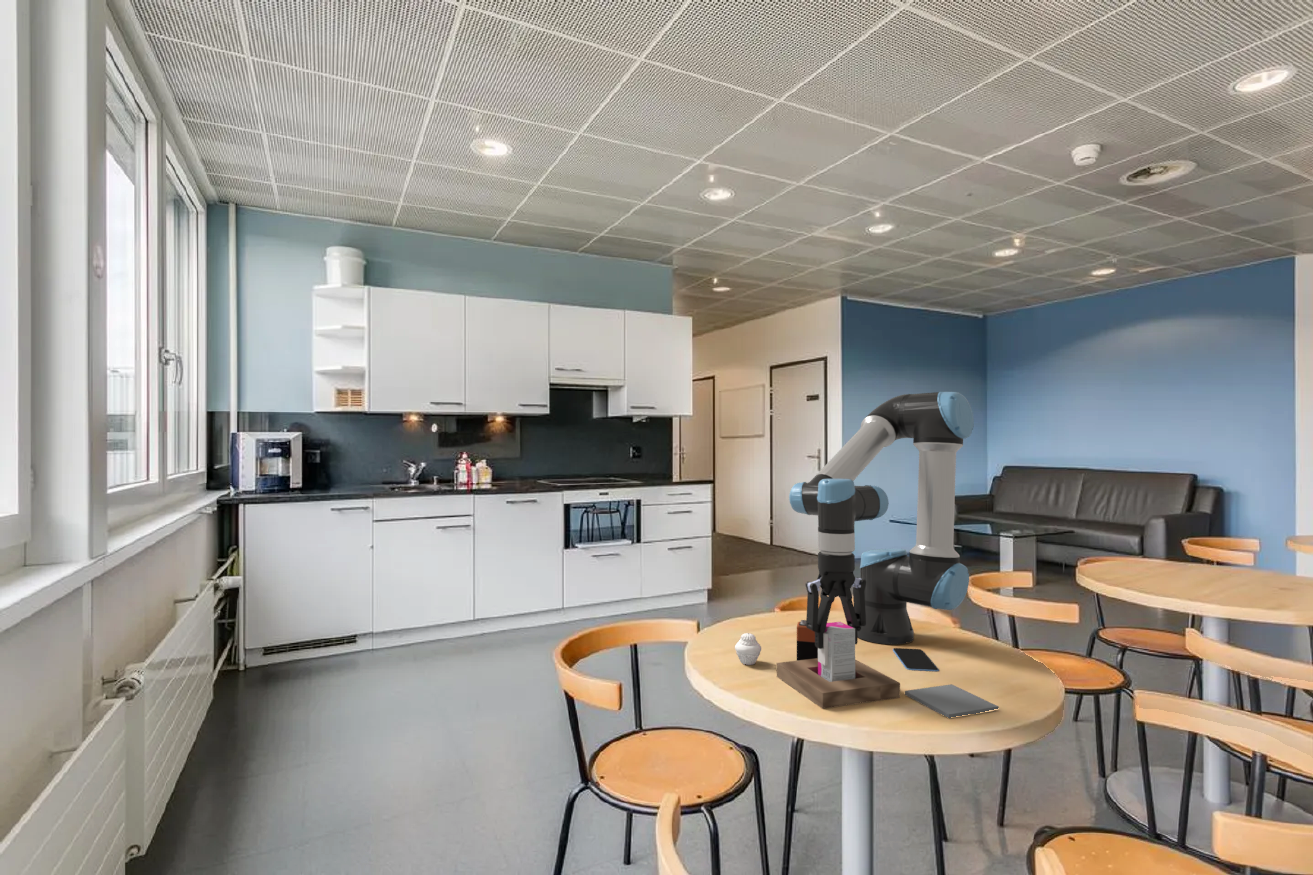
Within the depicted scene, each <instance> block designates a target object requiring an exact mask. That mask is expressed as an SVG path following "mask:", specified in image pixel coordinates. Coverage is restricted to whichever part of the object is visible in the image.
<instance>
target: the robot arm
mask: <svg viewBox="0 0 1313 875" xmlns="http://www.w3.org/2000/svg"><path fill="white" fill-rule="evenodd" d="M974 422H975V419H974V412H973V409H972V406H971V404H970V403H969V401H968V398H966V397H965V395H964V394H962V393H960V392H958V391H934V392H924V393H923V392H922V393H907V394H900V395H897V396H895V397H892V398H890V399H888V400H886V401H884V402H883V403H881V404H880V405H878V406H876V407H875V408H874V409H873V410H872V411H871V412H869V414H868V415H866V416H865V417H864V418H863V419H862V421H861V423H860V428H859V429H858V430H857V431H856V433H855V434H854V435H852V436H851V438H850V439H849V440H848V441H847V442H846V443H845V444H844V445H843V446H842V447H841V448H840V450H838V451H837V453H835V455H834V456H832V458H831V459H830V460H829V461H828V462H827V463H826V464H825V465H824V466H823V467H822V469H821V470H819V471H818V473H816V475H815V476H814V477H813V478H812V479H811V480H810V481H808V482H807V481H802V482H797V483H795V484H794V485H793V486H792V487H791V489H790V491H789V496H788V498H789V499H788V500H789V504H790V506H791V508H792V510H793V511H794V512H796V513H797V514H798V513H799V514H804V515H807V516H817V519H818V520H817V523H818V524H817V525H818V526H817V549H818V550H819V551H818V553H817V568H818V576H817V578H816V580H813V581H806V582H805V587H806V588H805V589H806V592H807V598H806V617H805V618H806V619H805V620H806V627H807V628H808V629H810V630H812V631H814V632H815V646H816V647H817V648H818V662H820V663H822V664H823V665H825V666H826V665H828V634H827V633H825V629H826V625H827V623H828V621H829V620H828V619H829V617H830V613H831V608H832V605H833V603H834V602H835V598H837V597H838V598H839V599H840V602H841V606H842V609H843V613H844V617H845V621H846V625H848V626H850V627H853V628H855V645H857V644H858V639H860V640H863V641H866V642H871V643H874V644H875V643H877V644H881V645H905V644H910V643H912V642H913V641H914V638H915V637H914V636H915V635H914V628H913V626H912V621H911V618H910V614H909V612H908V609H907V607H908V606H907V603H909V604H914V605H918V606H924V607H930V608H932V609H934V610H937V609H939V610H946V611H952V610H955V609H956V608H958V607H959V606H960V605H961V604H962V602H963V601H964V600H965V597H966V595H967V592H968V589H969V584H970V574H969V568H968V567H967V566H966V565H964V564H963V563H960V559H961V558H960V554H959V553H958V552H957V551H956V550H955V548H954V534H955V533H954V531H955V530H954V529H955V503H956V502H955V498H956V497H955V495H956V468H957V467H956V466H957V465H956V464H957V452H958V451H959V450H960V449H962V448H963V447H964V439H967V438H969V437H970V436H971V435H972V434H973V430H974V424H975V423H974ZM901 439H913V446H914V447H915V448H916V449H917V450H918V452H919V454H918V478H917V479H918V482H917V508H916V509H917V511H916V534H915V535H916V540H915V545H914V546H913V547H912V548H911V549H910V550H909V556H908V552H907V550H906V549H903V548H881V549H872V550H866V551H864V552H862V554H861V557H860V566H859V569H860V577H856V576H855V574H854V571H855V568H856V565H855V561H856V556H855V554H854V551H856V542H855V540H856V537H855V522H860V521H873V520H875V519H879V518H882V517H883V516H884V515H886V513H887V511H888V508H889V505H890V504H889V497H888V495H887V493H886V491H885V490H884V489H883V488H881V487H879V486H877V485H871V484H870V485H868V484H864V485H855V482H854V481H855V480H856V479H857V478H858V476H859V475H860V474H862V472H863V470H865V469H866V467H867V466H868V465H870V463H871V462H872V461H873V460H874V458H876V457H877V455H878V454H879V453H880V452H881V451H882V450H883V448H887V447H890V446H891V445H892V444H893V443H894V442H895V441H897V440H901ZM820 588H821V589H820ZM851 589H852V591H851ZM819 593H820V594H819ZM819 600H820V601H819Z"/></svg>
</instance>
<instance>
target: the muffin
mask: <svg viewBox="0 0 1313 875" xmlns="http://www.w3.org/2000/svg"><path fill="white" fill-rule="evenodd" d="M734 650H735V652H736V655H737V658H738V659H739V662H740V663H741V664H742V663H743V664H742V665H745V664H746V665H745V666H752V665H755V664H756V662H757V661H758V658H759V656H760V655H761V651H762V646H761V644H760V643H759V642H758V640H757V639H756V636H755V634H753V633H749V632H745V633H743V634H741V635H740V639H739V640H738V641H737V642H736V644H735V645H734Z"/></svg>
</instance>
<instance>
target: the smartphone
mask: <svg viewBox="0 0 1313 875" xmlns="http://www.w3.org/2000/svg"><path fill="white" fill-rule="evenodd" d="M892 651H893V653H894V655H895V656H896V657H897V659H898V660H899V662H901V664H902V666H903V667H904V668H905V669H906V670H907V671H915V672H916V671H920V672H922V671H925V672H940V668H938V667H937V665H936V664H935V663H934V662H933V660H931V658H929V655H927V653H925V651H924V650H922V649H919V648H907V647H905V648H903V647H893V648H892Z"/></svg>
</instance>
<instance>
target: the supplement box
mask: <svg viewBox="0 0 1313 875" xmlns="http://www.w3.org/2000/svg"><path fill="white" fill-rule="evenodd" d="M825 633H827V634H828V665H826V666H825V665H823V664H822V663H820V662H818V675H819V676H821V677H823V678H824V679H826V680H828V681H829V682H833V681H841V680H848V679H855V660H856V644H855V628H853V627H850V626H848V625H847V623H844V622H841V621H836V622H835V621H833V622H827V625H826V629H825Z"/></svg>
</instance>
